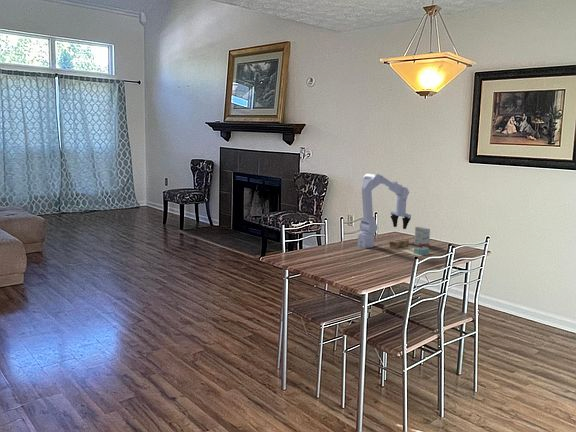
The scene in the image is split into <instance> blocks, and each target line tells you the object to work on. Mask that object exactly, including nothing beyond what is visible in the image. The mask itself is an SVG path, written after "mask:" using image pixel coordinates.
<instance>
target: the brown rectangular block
mask: <svg viewBox="0 0 576 432" xmlns="http://www.w3.org/2000/svg"><path fill="white" fill-rule="evenodd" d="M389 247H390V248H391V249H390V248H389V249H390V250H394V249H400V248H405V247H409V240H408V239H405V238H403V239H397V240H390V241H389Z"/></svg>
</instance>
